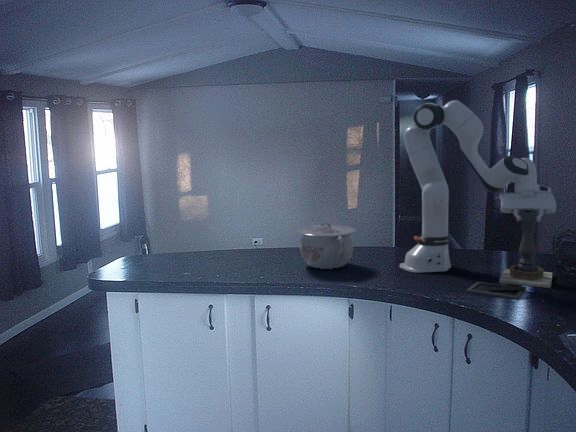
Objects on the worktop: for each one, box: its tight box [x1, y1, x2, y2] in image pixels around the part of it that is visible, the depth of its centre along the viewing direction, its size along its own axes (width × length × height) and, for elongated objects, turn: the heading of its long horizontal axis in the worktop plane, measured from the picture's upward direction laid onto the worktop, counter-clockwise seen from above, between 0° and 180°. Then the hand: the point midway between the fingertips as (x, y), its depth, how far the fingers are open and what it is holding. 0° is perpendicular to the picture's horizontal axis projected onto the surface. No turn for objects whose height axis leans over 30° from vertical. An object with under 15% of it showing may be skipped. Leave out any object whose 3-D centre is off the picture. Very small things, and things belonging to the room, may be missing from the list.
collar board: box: [499, 264, 553, 289], centre depth 213 cm, size 18×18×4 cm
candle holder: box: [517, 211, 538, 272], centre depth 211 cm, size 6×6×25 cm
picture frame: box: [465, 281, 527, 301], centre depth 199 cm, size 13×2×18 cm
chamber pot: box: [295, 221, 358, 270], centre depth 242 cm, size 28×28×21 cm
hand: (528, 220), depth 209 cm, fingers closed on candle holder, 5 cm apart
